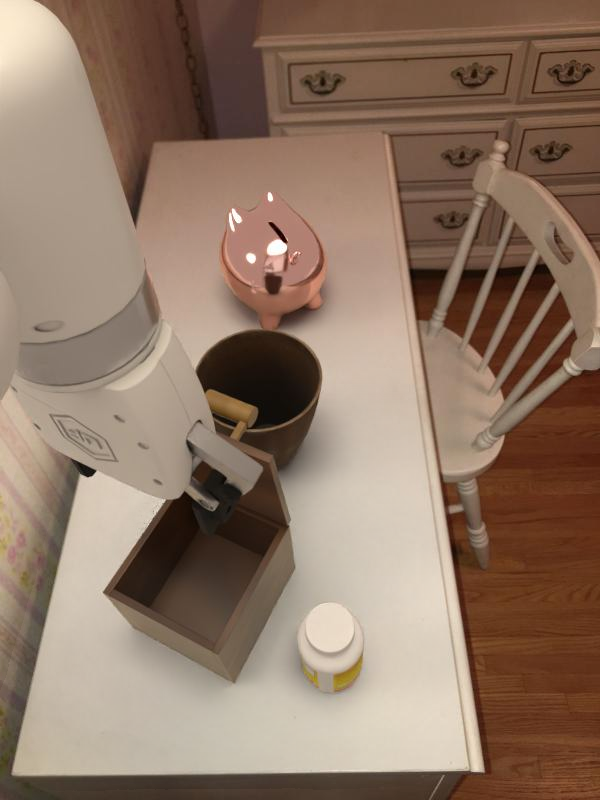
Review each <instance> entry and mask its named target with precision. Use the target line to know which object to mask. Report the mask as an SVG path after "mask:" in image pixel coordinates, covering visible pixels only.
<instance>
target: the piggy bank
mask: <svg viewBox="0 0 600 800" xmlns="http://www.w3.org/2000/svg"><path fill="white" fill-rule="evenodd" d="M218 248H219V249H218V262H219V267H220V270H221V274H222V276H223V278H224V280H225V282H226V284H227V285H228V287H229V289H230V290H231V291H232V293H233V294H234V295H235V297H236V298H237V299H238V300H239V301H241V302H242V303H243V304H245V305H246V306H247V307H248V308H250V309H251V310H252V311H254V312H255V314H257V315H258V320H259V324H260V327H261V329H273V330H278V328H279V327H280V324H281V321H282V317H283V316H284V315H287V314H289V313H292V312H295V311H296V310H299V309H300V308H303V307H306V309H309V310H317V309H318V308H320V307H321V306H322V304H323V301H322V296H321V294H320V290H321V288H322V286H323V284H324V281H325V278H326V276H327V270H328V259H327V254H326V253H327V252H326V249H325V246H324V244H323V241H322V239H321V238H320V236H319V234H318V233H317V231H316V230H315V229H314V228H313V226H312V225H311V224H310V222H308V221H307V220H306V219H305V218H304V217H303V216H302V215H300V213H298V212H297V211H296V210H295V209H293V208H292V207H291V206H290V205H289V204H288V203H287V202H286V201H285V200H284V199H283V198H282V197H281V196H280V195H279V194H278V193H277V192H275V191H274V190H271V189H268V190H266V191H265V192H264V194H263V195H262V197H261V198H260V201H259V203H258V204H257V205H256V206H255V207H253V208H251V209H248V210H246V209H245V208H242V207H240V206H238V205H236V204H235V205H231V206H230V207H229V209H228V211H227V214H226V219H225V230H224V232H223V235H222V237H221V240H220V244H219V247H218Z"/></svg>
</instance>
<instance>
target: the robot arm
mask: <svg viewBox="0 0 600 800" xmlns="http://www.w3.org/2000/svg"><path fill="white" fill-rule="evenodd" d="M94 96H95V95H94V93H93V90H92V87H91V84H90V81H89V77H88V75H87V71H86V68H85V65H84V63H83V60H82V57H81V55H80V51H79V50H78V47H77V44H76V42H75V40H74V39H73V36H72V35H71V33H70V32H69V30H68V29H67V28H66V26H65V25H64V24H63V22H62V21H61V20H60V18H59V17H58V16H57V15H56V14H54V13H53V12H52V11H51V10H50V9H49V8H47V7H46V6H45V5H44V4H42V3H40V2H39V1H36V0H0V403H1V402H2V400H3V399H4V397H5V396H6V394H7V392H8V390H9V388H10V389H11V390H12V392H13V394H14V396H15V397H16V399H17V401H18V403H19V404H20V406H21V408H22V409H23V411H24V413H25V414H26V416H27V418H28V419H29V421H30V423H31V424H32V426H33V427H34V429H35V430H36V432H37V433H38V435H39V436H40V438H41V439H42V440H43V442H45V443H46V444H47V445H48V446H50V448H53V449H54V450H55V451H57V452H58V453H60V454H62V455H64V456H66V457H68V458H69V459H70V461H71V462H72V464H73V465H74V466H75V468H76V470H77V471H78V473H79V474H80V475H81V476H83V477H85V478H87V479H88V478H93V476H94V475H95V474H96V473H97V472H99V473H101V474H103V475H106V476H107V477H110V478H112V479H114V480H116V481H119V482H121V483H123V484H125V485H127V486H129V487H131V488H134V489H135V490H138V491H140V492H142V493H145V494H147V495H149V496H152V497H154V498H157V499H160V500H166V499H167V500H172V499H177V498H179V497H180V496H181V495H182V494H183V492H184V491H185V492H187V493H188V494H189V495H190V496H191V497H192V498H193V499H194V501H193V503H192V508H193V511H194V513H195V516H196V518H197V521H198V523H199V526H200V528H201V530H202V532H203V533H204V534H206V535H208V536H212V535H213V533H214V532H215V530H216V528H217V527H218V525H219V524H220V522H221V523H223V524H225V523H227V521H228V520H229V519H230V517H231V515H232V514H233V512H234V510H235V507H236V502H237V501H239V499H240V498H241V496H242V495H243V494H244V495H245V494H246V493H247V492H249V491H250V490H251V489H252V488H253V487H254V485H255V483H256V482H257V480H258V478H259V477H260V475H261V473H262V472H263V470H264V469H263V467H262V466H261V465H260V464H259V463H258V462H256V461H255V460H253V459H252V458H250V457H249V456H248V455H246V454H245V453H243V452H242V451H240V450H239V449H237V448H236V447H234V446H233V445H232V444H230V443H229V442H227V441H226V440H224V439H223V438H221V437H220V436H218V435H217V434H216V431H215V425H214V421H213V417H212V414H211V410H210V407H209V404H208V401H207V399H206V396H205V393H204V391H203V388H202V386H201V383H200V381H199V379H198V377H197V374H196V372H195V370H196V369H195V368H194V365H193V364H192V362H191V359H190V357H189V356H188V353H187V352H186V350H185V348H184V347H183V344H182V343H181V341H180V339H179V337H178V336H177V334H176V333H175V331H174V329H173V327H172V325H171V324H170V323H169V322H167V321H166V320H164V318H163V312H162V309H161V306H160V303H159V298H158V296H157V292H156V289H155V287H154V283H153V280H152V277H151V274H150V269H149V267H148V264H147V261H146V258H145V254H144V252H143V248H142V245H141V242H140V239H139V235H138V233H137V228H136V225H135V223H134V220H133V216H132V213H131V209H130V207H129V203H128V201H127V198H126V195H125V191H124V188H123V185H122V182H121V179H120V176H119V172H118V169H117V166H116V163H115V159H114V156H113V153H112V151H111V146H110V144H109V140H108V137H107V134H106V131H105V128H104V124H103V121H102V118H101V115H100V112H99V109H98V105H97V102H96V99H95V97H94ZM202 460H203V461H204V462H206V463H207V464H209V465H210V466H211V467H212V468H213V469H214V470H212V471H211V473H210V474H209V476H208V477H207V479H206V480H205V482H204V483H203V485H202V484H200V483H199V482H198V481H197V480H196V479H195V478H194V477H193V476H192V475H193V474H194V472H195V471H196V469H197V468H198V466H199V465H200V463H201V462H202Z"/></svg>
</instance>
